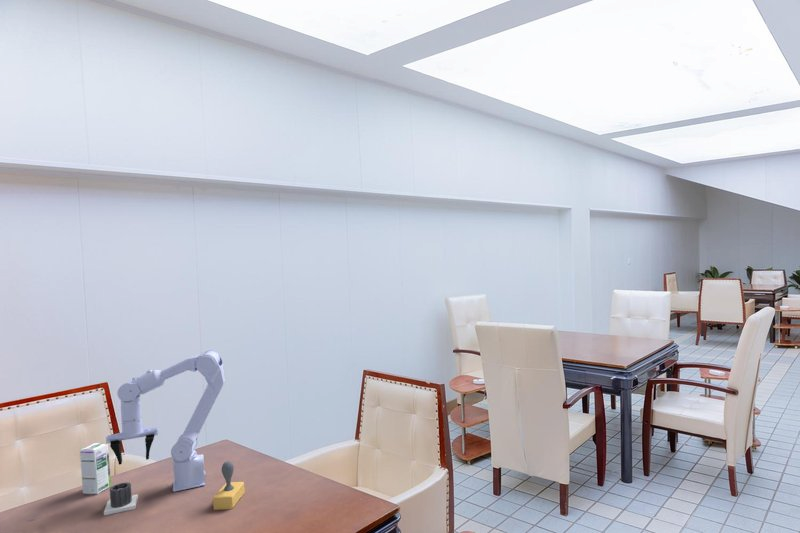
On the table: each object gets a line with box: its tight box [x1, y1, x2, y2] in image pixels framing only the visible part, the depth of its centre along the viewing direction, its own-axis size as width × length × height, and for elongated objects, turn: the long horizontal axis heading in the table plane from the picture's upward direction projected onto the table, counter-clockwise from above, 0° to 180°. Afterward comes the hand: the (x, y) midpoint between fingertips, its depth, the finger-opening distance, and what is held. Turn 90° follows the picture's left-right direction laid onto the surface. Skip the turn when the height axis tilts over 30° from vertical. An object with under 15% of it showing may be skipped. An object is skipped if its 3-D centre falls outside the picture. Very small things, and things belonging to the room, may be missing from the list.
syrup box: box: [79, 442, 112, 495], centre depth 159 cm, size 6×6×14 cm
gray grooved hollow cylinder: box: [109, 482, 132, 508], centre depth 147 cm, size 5×5×5 cm
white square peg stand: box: [103, 488, 139, 516], centre depth 147 cm, size 8×8×5 cm
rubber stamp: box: [212, 460, 246, 511], centre depth 147 cm, size 10×6×12 cm, turn 177°
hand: (134, 460), depth 157 cm, fingers open, 7 cm apart
